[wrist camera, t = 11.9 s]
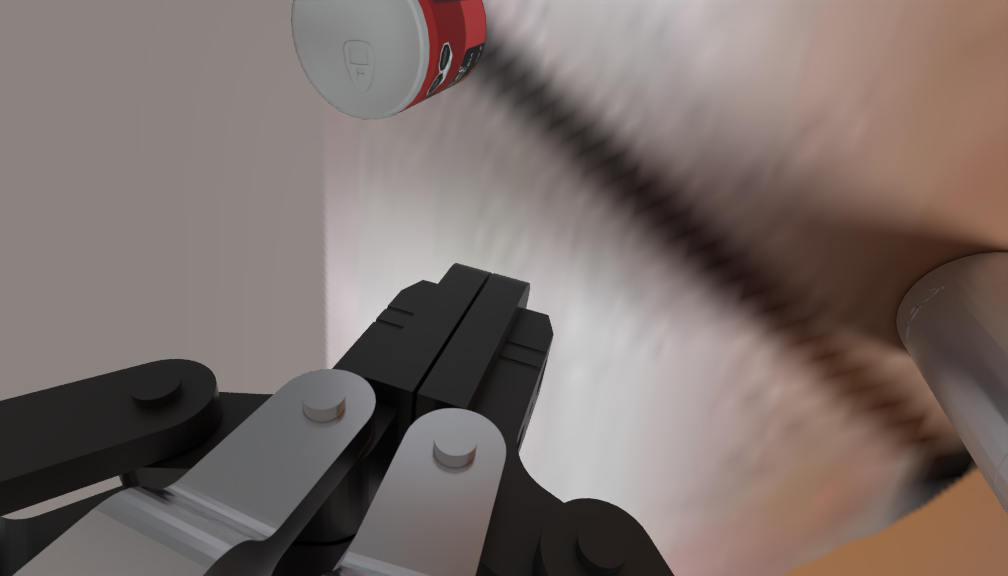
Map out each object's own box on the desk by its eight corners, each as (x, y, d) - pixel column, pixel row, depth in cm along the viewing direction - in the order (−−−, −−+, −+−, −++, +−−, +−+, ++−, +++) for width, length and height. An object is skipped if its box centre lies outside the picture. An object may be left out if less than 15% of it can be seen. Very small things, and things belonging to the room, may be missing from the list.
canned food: (406, 95, 39) (324, 132, 30) (370, -26, 36) (264, -26, 26) (502, 73, 36) (444, 106, 27) (473, -60, 33) (394, -74, 24)
